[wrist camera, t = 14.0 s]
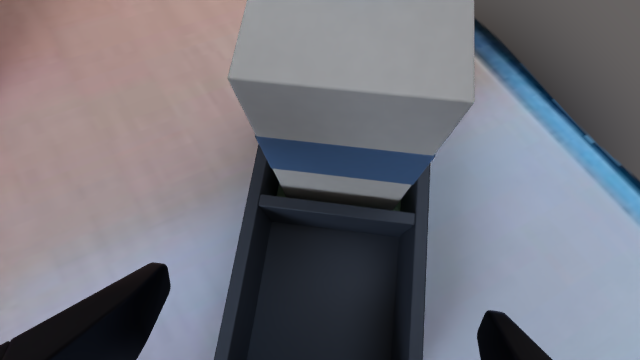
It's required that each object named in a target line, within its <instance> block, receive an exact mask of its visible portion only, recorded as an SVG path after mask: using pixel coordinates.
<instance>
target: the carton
mask: <svg viewBox="0 0 640 360" xmlns="http://www.w3.org/2000/svg"><path fill="white" fill-rule="evenodd" d="M228 80H229V82H230V84H231V86H232V88H233V90H234V92H235V94H236V96H237V98H238V100H239V102H240V104H241V106H242V108H243V110H244V112H245V114H246V116H247V118H248V120H249V122H250V124H251V126H252V128H253V130H254V132H255V137H256V139H257V141H258V143H259V145H260V147H261V149H262V151H263V153H264V155H265V157H266V159H267V161H268V163H269V165H270V167H271V168H272V169H273V171H274V173H275V175H276V177H277V179H278V181H279V183H280V185H281V187H282V189H283V191H284V193H285V195H286V197H288V198H296V199H304V200H312V201H321V202H329V203H337V204H345V205H353V206H361V207H369V208H378V209H386V210H393V209H394V208H395V206H396V205H397V204H398V202H399V201H400V200H401V198H402V197H403V196H404V194H405V193H406V192H407V190H408V189H409V188H410V187H411V185H413V184H414V183H415V182H416V180H417V179H418V178H419V177H420V175H421V174H422V173H423V171H424V170H425V169H426V168H427V166H428V165H429V164H430V162H431V161H432V160H433V158H434V157H435V154H436V152H437V151H438V150H439V148H440V147H441V146H442V144H443V143H444V142H445V140H446V139H447V138H448V136H449V135H450V134H451V132H452V131H453V130H454V128H455V127H456V126H457V125H458V123H459V122H460V121H461V119H462V118H463V117H464V115H465V114H466V113H467V111H468V110H469V109H470V107H471V106H472V105H473V103H474V0H247V3H246V7H245V11H244V15H243V19H242V23H241V27H240V31H239V35H238V39H237V43H236V47H235V51H234V55H233V59H232V63H231V66H230V70H229V74H228Z"/></svg>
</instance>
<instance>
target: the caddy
mask: <svg viewBox="0 0 640 360" xmlns="http://www.w3.org/2000/svg"><path fill="white" fill-rule="evenodd" d="M429 182H430V164H429V165H428V166H427V168H426V169H425V170H424V171H423V173H422V174H421V175H420V177H419V178H418V179H417V180H416V182H415V183H414V184H413V185H411V187H410V188H409V189H408V190H407V192H406V193H405V194H404V196H403V197H402V198H401V200H400V201H399V202H398V204H397V205H396V206H395V208H394V209H393V210H386V209H378V208H369V207H361V206H353V205H345V204H337V203H329V202H321V201H312V200H304V199H296V198H288V197H286V195H285V193H284V191H283V189H282V187H281V185H280V183H279V181H278V179H277V177H276V175H275V173H274V171H273V169H272V168H271V167H270V165H269V163H268V161H267V159H266V157H265V155H264V153H263V151H262V149H261V147H260V145H259V144H258V149H257V154H256V159H255V164H254V168H253V173H252V178H251V183H250V188H249V193H248V198H247V202H246V207H245V212H244V217H243V222H242V227H241V231H240V236H239V241H238V246H237V251H236V256H235V260H234V265H233V270H232V275H231V280H230V285H229V289H228V294H227V299H226V304H225V309H224V314H223V319H222V323H221V328H220V333H219V338H218V343H217V348H216V352H215V357H214V360H423V338H424V312H425V286H426V260H427V234H428V208H429Z"/></svg>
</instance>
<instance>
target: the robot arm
mask: <svg viewBox="0 0 640 360" xmlns="http://www.w3.org/2000/svg"><path fill="white" fill-rule="evenodd" d="M169 292H170V279H169V273H168V268H167V266H166V265H165V264H161V263H154V262H153V263H149V264H147V265H146V266H144V267H142V268H140V269H138V270H137V271H135V272H133V273H131V274H129V275H127V276H126V277H124V278H122V279H120V280H118V281H117V282H115V283H113V284H111V285H109V286H107V287H106V288H104V289H102V290H100V291H98V292H97V293H95V294H93V295H91V296H89V297H87V298H86V299H84V300H82V301H80V302H78V303H77V304H75V305H73V306H71V307H69V308H67V309H66V310H64V311H62V312H60V313H58V314H57V315H55V316H53V317H51V318H49V319H47V320H46V321H44V322H42V323H40V324H38V325H37V326H35V327H33V328H31V329H29V330H27V331H26V332H24V333H22V334H20V335H18V336H17V337H15V338H13V339H12V340H11V341H10V342H9V341H8V342H5V343H4V344H2V345H0V360H136V359H137V358H138V356H139V354H140V353H141V351H142V349H143V347H144V345H145V344H146V342H147V340H148V338H149V336H150V334H151V331H152V329H153V327H154V325H155V323H156V321H157V318H158V316H159V314H160V312H161V310H162V308H163V305H164V303H165V301H166V299H167V297H168V295H169ZM477 340H478V346H479V352H480V358H481V360H552V359H551V358H550V357H549V356H548V355H547V354H546V353H545V352H544V351H543V350H542V349H541V348H540V347H539V346H538V345H537V344H536V343H535V342H534V341H533V340H532V339H531V338H530V337H529V336H528V335H527V334H526V333H524V332H523V331H522V330H521V329H520V328H519V327H518V326H517V325H516V324H515V323H514V322H513V321H512V320H511V319H510V318H509V317H508V316H507V315H506V314H505V313H503V312H498V311H491V310H488V311H487V312H486V313H485V315H484V317H483V319H482V322H481V324H480V327H479V329H478V333H477Z"/></svg>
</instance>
